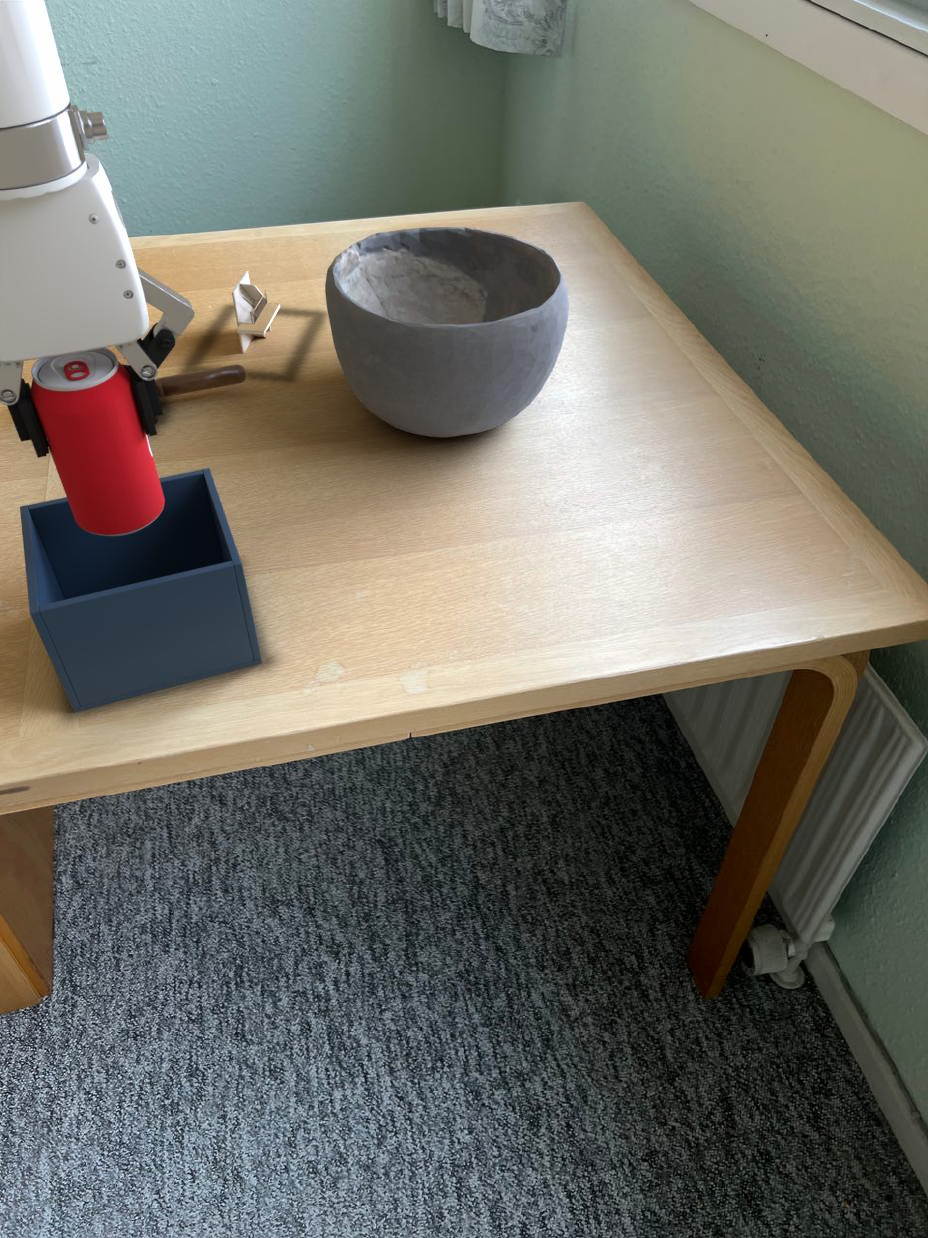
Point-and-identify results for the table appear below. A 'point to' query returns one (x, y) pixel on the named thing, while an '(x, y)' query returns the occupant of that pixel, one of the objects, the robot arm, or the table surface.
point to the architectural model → (252, 311)
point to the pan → (198, 381)
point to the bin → (139, 596)
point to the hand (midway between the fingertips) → (95, 432)
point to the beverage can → (97, 441)
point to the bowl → (446, 326)
